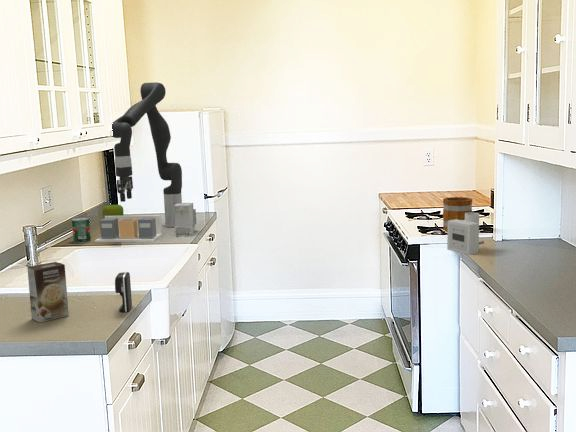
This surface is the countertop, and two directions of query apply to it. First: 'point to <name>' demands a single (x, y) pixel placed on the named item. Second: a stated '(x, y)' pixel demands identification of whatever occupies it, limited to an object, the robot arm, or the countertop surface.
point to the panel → (158, 228)
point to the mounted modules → (112, 230)
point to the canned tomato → (81, 230)
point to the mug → (455, 209)
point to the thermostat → (464, 234)
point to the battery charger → (124, 290)
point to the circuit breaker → (184, 219)
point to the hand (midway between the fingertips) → (126, 200)
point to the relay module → (128, 228)
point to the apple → (112, 210)
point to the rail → (125, 238)
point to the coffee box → (48, 291)
